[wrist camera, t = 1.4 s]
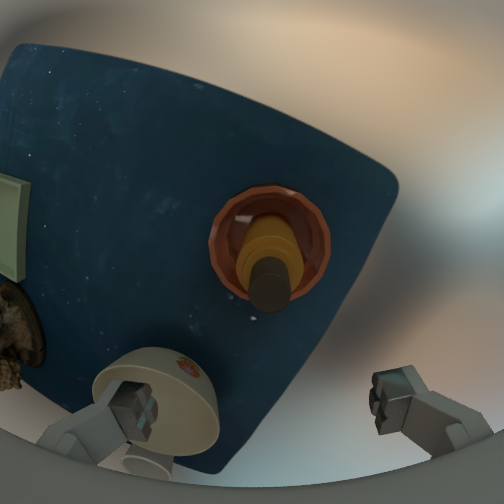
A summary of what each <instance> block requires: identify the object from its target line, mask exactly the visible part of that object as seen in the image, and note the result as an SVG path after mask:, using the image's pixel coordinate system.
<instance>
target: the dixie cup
mask: <svg viewBox="0 0 504 504" xmlns="http://www.w3.org/2000/svg"><path fill="white" fill-rule="evenodd" d="M173 459H174V456H171V455H165V454H160V453H156V452H153V451H150V450H147V449H144V448H142V447H140V446H138V445H136V444H134V443H132V445H131V446H130V448H129V450H128V451H127V453H126V454H125V455H124V456H122V458H121V464H122V466H123V467H124V469H125V470H126V471H127V472H129V473H130V474H132V475H136V476H141V477H146V478H152V479H158V480H164V481H171V480H172V475H171V473H172V465H173Z"/></svg>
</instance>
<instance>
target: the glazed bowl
mask: <svg viewBox="0 0 504 504" xmlns="http://www.w3.org/2000/svg"><path fill="white" fill-rule="evenodd" d="M267 212H273V213H277V214H280V215H282V216H283V217H285V218H286V219H287V220H288V221H289V223H290V224H291V226H292V229H293V232H294V235H295V238H296V241H297V244H298V247H299V250H300V253H301V256H302V259H303V264H304V271H303V276H302V279H301V281H300V283H299V284H298V286H297V287H296V288H295V289H294V290H293V291H292V292H291V299H290V301H291V300H294V299H296V298H298V297H300V296H302V295H304V294H306V293H308V292H309V291H310V289H311V288H312V287H313V286H314V285H315V284H316V283H317V282H318V281H319V280H320V279H321V278H322V276H323V275H324V272H325V269H326V267H327V264H328V262H329V259H330V256H331V239H330V230H329V228H328V226H327V224H326V221H325V219H324V217H323V215H322V213H321V211H320V210H319V208H317V207H316V206H315V205H314V204H313V203H312V202H311V201H310V200H308V199H307V198H306V197H305V196H304V195H303V194H301V193H300V192H299V191H298V190H297V189H295V188H292V187H289V186H286V185H282V184H279V183H275V182H274V183H263V184H255V185H252V186H250V187H248V188H247V189H245V190H243V191H241V192H239V193H237V194H236V195H235V196H233V197H232V198H231V199H230V200H229V201H228V202H227V203H226V205H225V206H224V207H223V208H222V210H221V211H220V212H219V213H218V215H217V216H216V217H215V218H214V221H213V225H212V229H211V232H210V236H209V240H208V245H209V252H210V259H211V264H212V267H213V268H214V270H215V272H216V273H217V275H218V277H219V278H220V280H221V282H222V283H223V285H224V286H226V287H227V288H228V289H230V290H231V291H232V292H234V293H235V294H236V295H238V296H239V297H240V298H242V299H246V300H249V298H248V291H246V290H245V289H244V288H243V286H242V285H241V283H240V282H239V280H238V277H237V273H236V262H237V258H238V255H239V252H240V249H241V246H242V243H243V241H244V238H245V235H246V232H247V229H248V226H249V224H250V223H251V221H252V220H253V219H254V218H255V217H256V216H258V215H260V214H263V213H267Z"/></svg>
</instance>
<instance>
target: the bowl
mask: <svg viewBox="0 0 504 504" xmlns="http://www.w3.org/2000/svg"><path fill="white" fill-rule="evenodd" d="M114 379H115V380H123V381H133V382H142V383H148V384H150V387H151V389H152V393H151V396H152V397H153V398H154V399H156V402H157V405H158V417H157V419H156V422H155V423H153V424H152V425H150V426H151V429H152V431H151V434H150V436H149V439H148V441H147V442H142V441H135V440H129V441H130V442H132V443H134V444H136V445H138V446H140V447H142V448H144V449H147V450H150V451H153V452H156V453H160V454H165V455H171V456H188V455H194V454H198V453H201V452H203V451H205V450H207V449H209V448H210V447H211V446H212V445H213V444H214V443H215V442H216V440H217V438H218V436H219V430H220V426H219V415H218V406H217V399H216V395H215V391H214V388H213V385H212V383H211V381H210V379H209V378H208V376H207V375H206V373H205V372H204V371H203V370H202V368H201V367H200V366H199V365H198V364H196V363H195V362H194V361H193V360H191V359H190V358H188V357H187V356H185V355H183V354H181V353H179V352H177V351H174V350H171V349H167V348H161V347H146V348H140V349H137V350H134V351H131V352H129V353H127V354H125V355H124V356H122V357H121V358H119V359H118V360H116V361H115V362H113V363H112V364H111V365H109V366H108V367H106V368H105V369H104V370H103V371H101V372H100V373H99V374H98V375H97V377H96V378H95V380H94V383H93V389H92V393H93V399H94V402H95V404H96V403H97V401H98V400H99V398H100V397H101V395H102V394H103V392H104V391H105V389H106V388H107V386H108V385H109V383H110V382H111V381H112V380H114ZM127 440H128V439H127Z"/></svg>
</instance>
